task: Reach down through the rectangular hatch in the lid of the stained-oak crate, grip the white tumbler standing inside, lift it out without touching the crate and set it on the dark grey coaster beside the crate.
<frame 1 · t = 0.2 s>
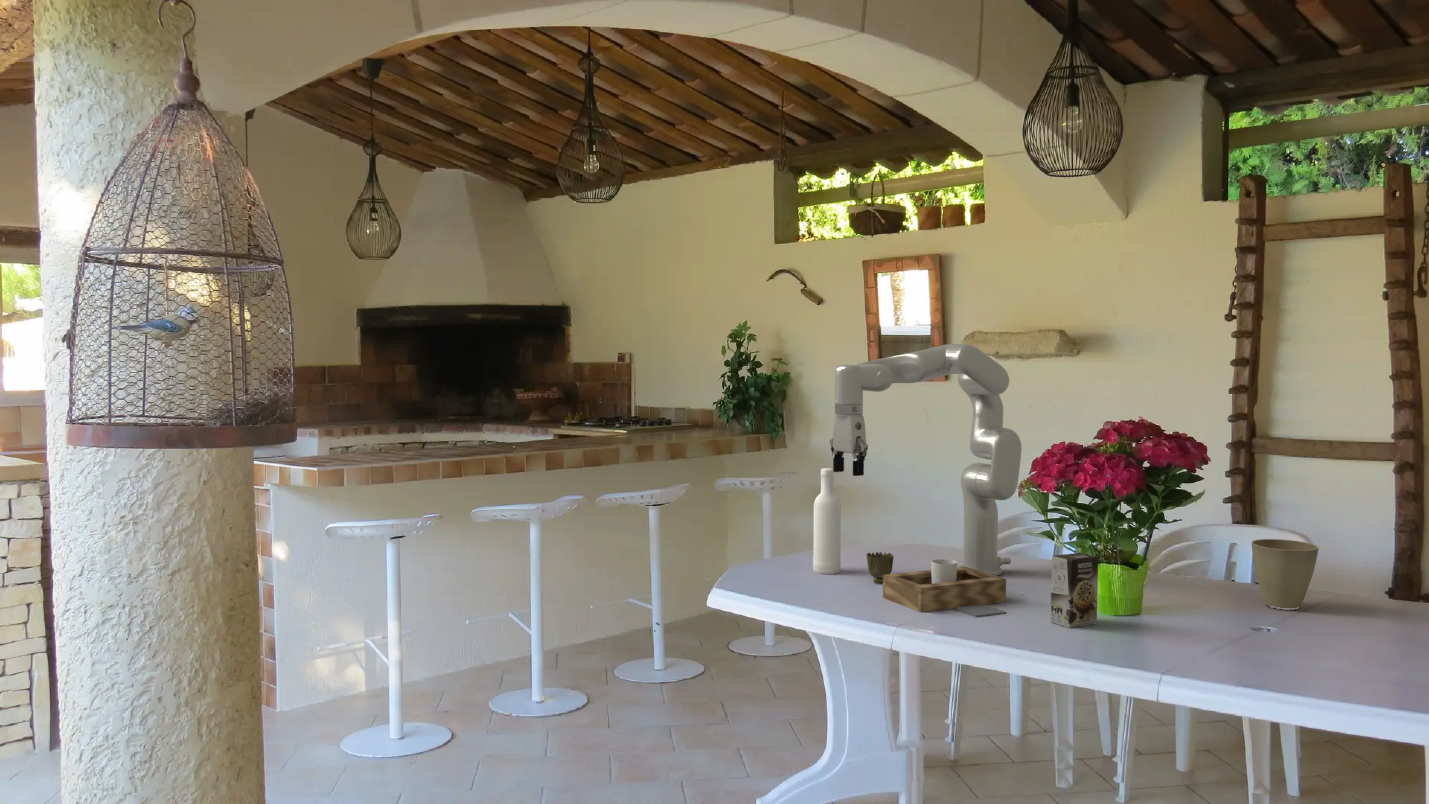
hand: (848, 473, 294), 31 cm above the table, tool pointing down, fingers open, 9 cm apart
plant pot: (1282, 608, 272), on the table
coffee box: (1073, 624, 256), on the table
crate: (943, 599, 280), on the table
bottle: (826, 572, 315), on the table
white tumbler: (943, 600, 280), resting in crate
cup: (879, 583, 300), on the table
coaster: (979, 611, 268), on the table
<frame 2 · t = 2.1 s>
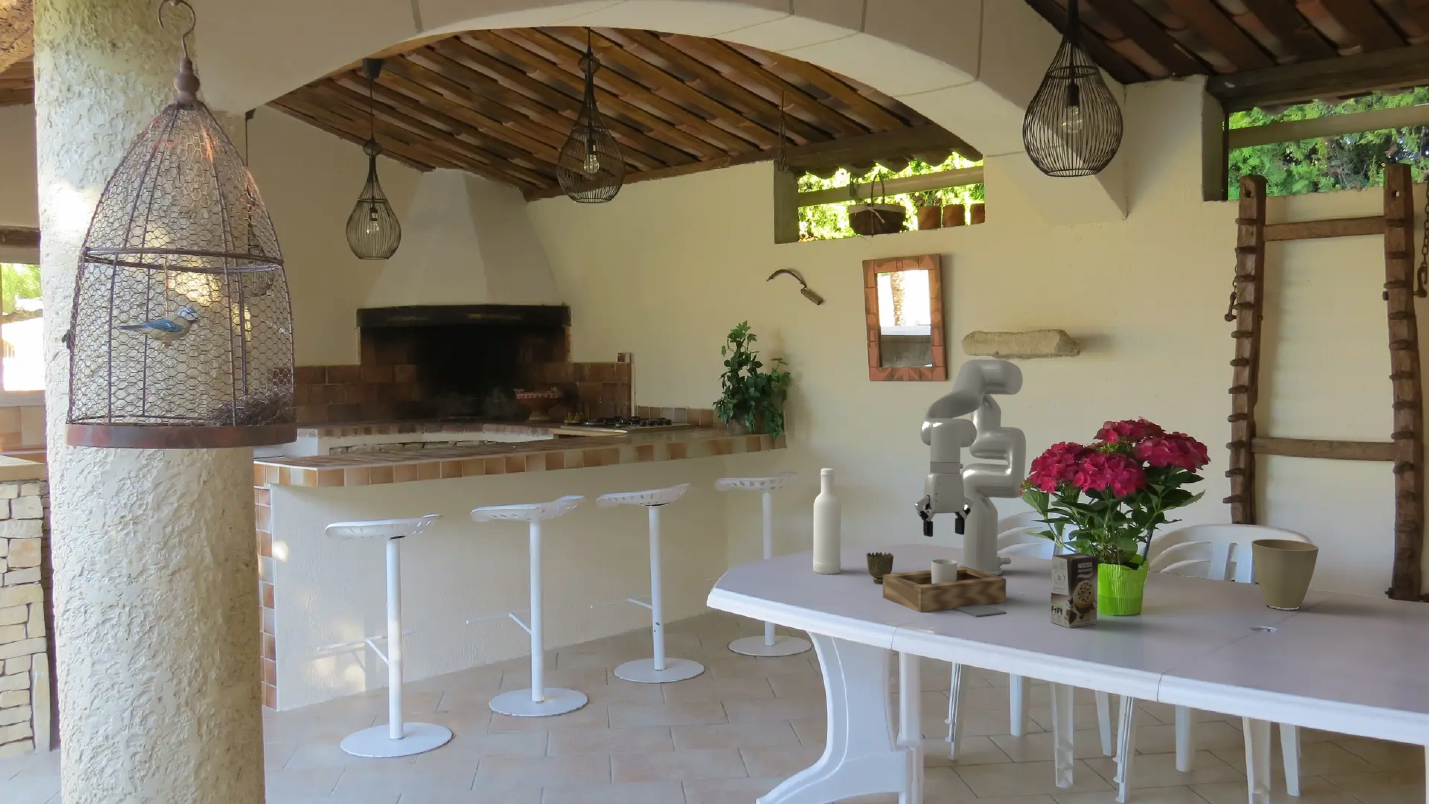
hand: (944, 535, 278), 17 cm above the table, tool pointing down, fingers open, 9 cm apart
nothing on the table moved.
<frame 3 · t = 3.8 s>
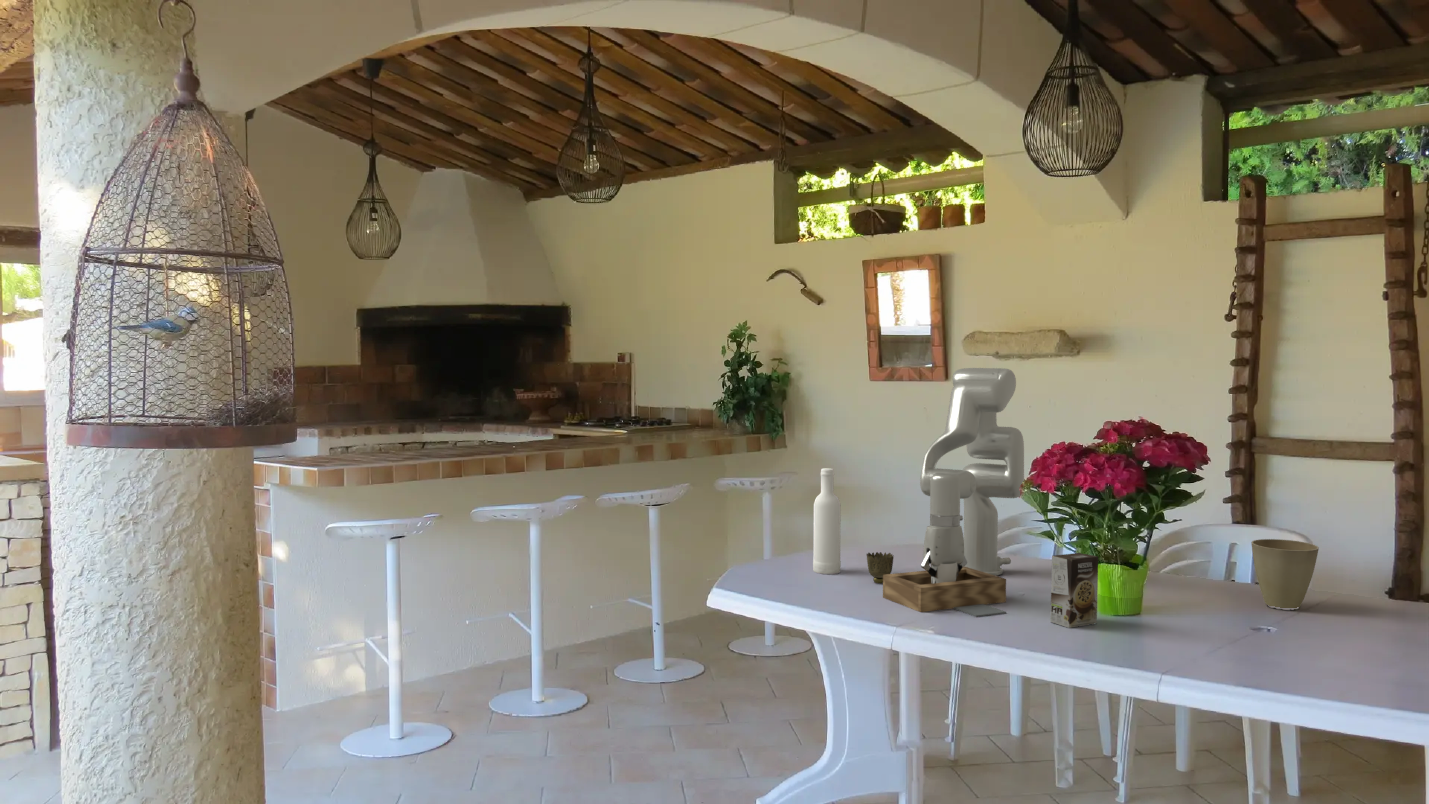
hand: (944, 591, 280), 2 cm above the table, tool pointing down, fingers closed on white tumbler, 3 cm apart
white tumbler: (943, 600, 280), resting in crate, touching gripper
everything else where it was.
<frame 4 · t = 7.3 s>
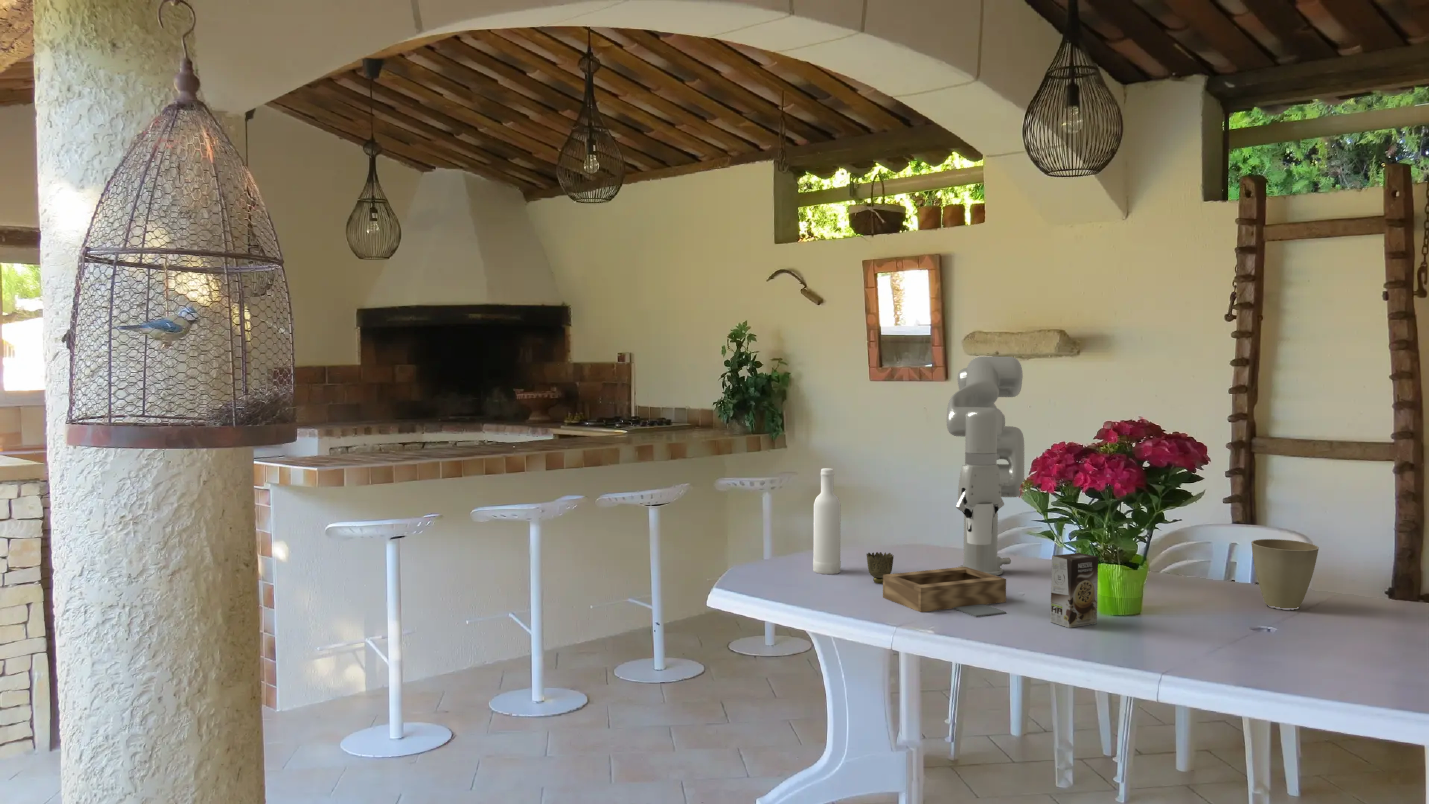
hand: (979, 533, 267), 19 cm above the table, tool pointing down, fingers closed on white tumbler, 3 cm apart
white tumbler: (979, 543, 267), point 17 cm above the table, touching gripper
everything else where it was.
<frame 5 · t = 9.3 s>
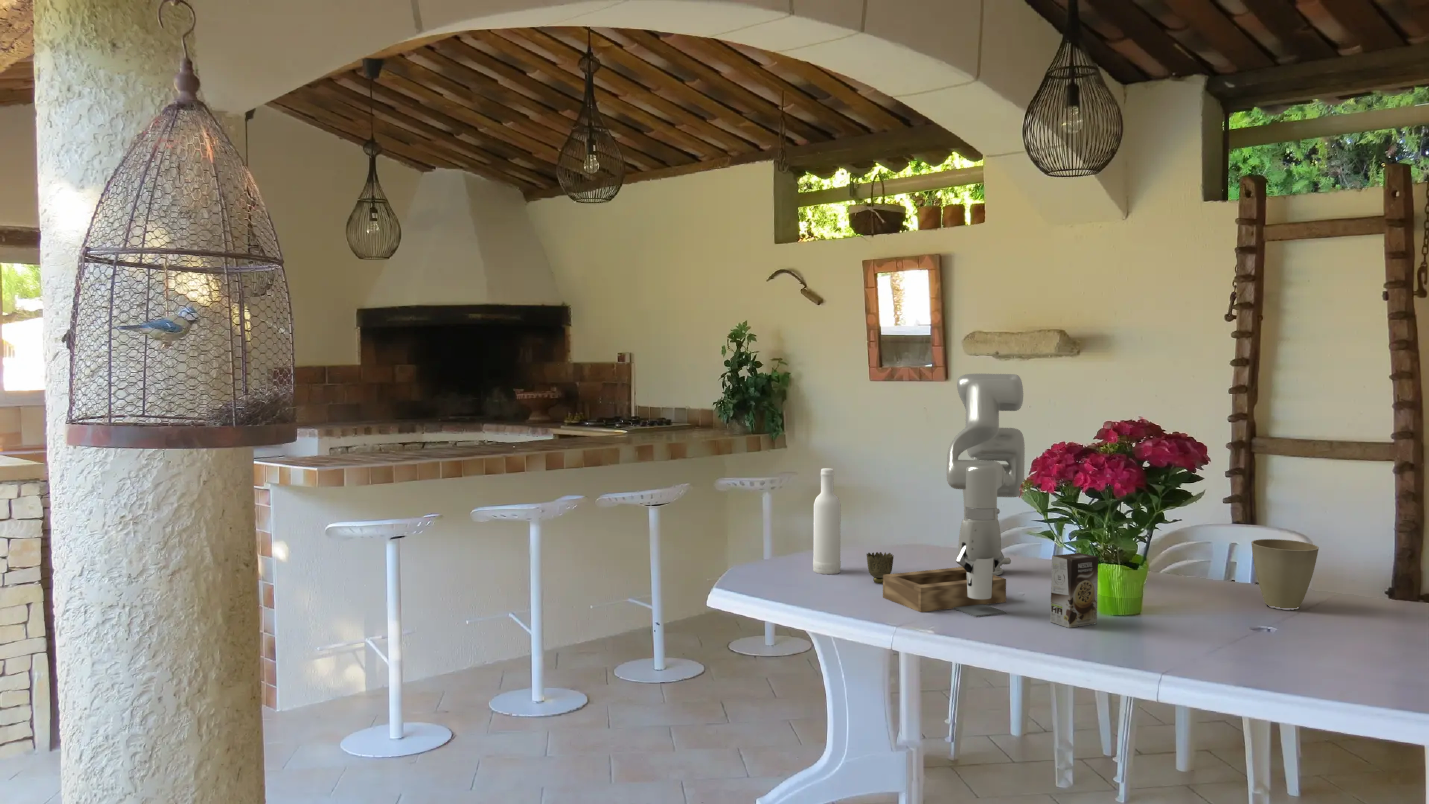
hand: (980, 587, 267), 6 cm above the table, tool pointing down, fingers closed on white tumbler, 3 cm apart
white tumbler: (979, 597, 267), point 3 cm above the table, touching gripper
everything else where it was.
when the fingers open (4 cm above the table, at t = 10.4 s): white tumbler drops 1 cm, resting on coaster.
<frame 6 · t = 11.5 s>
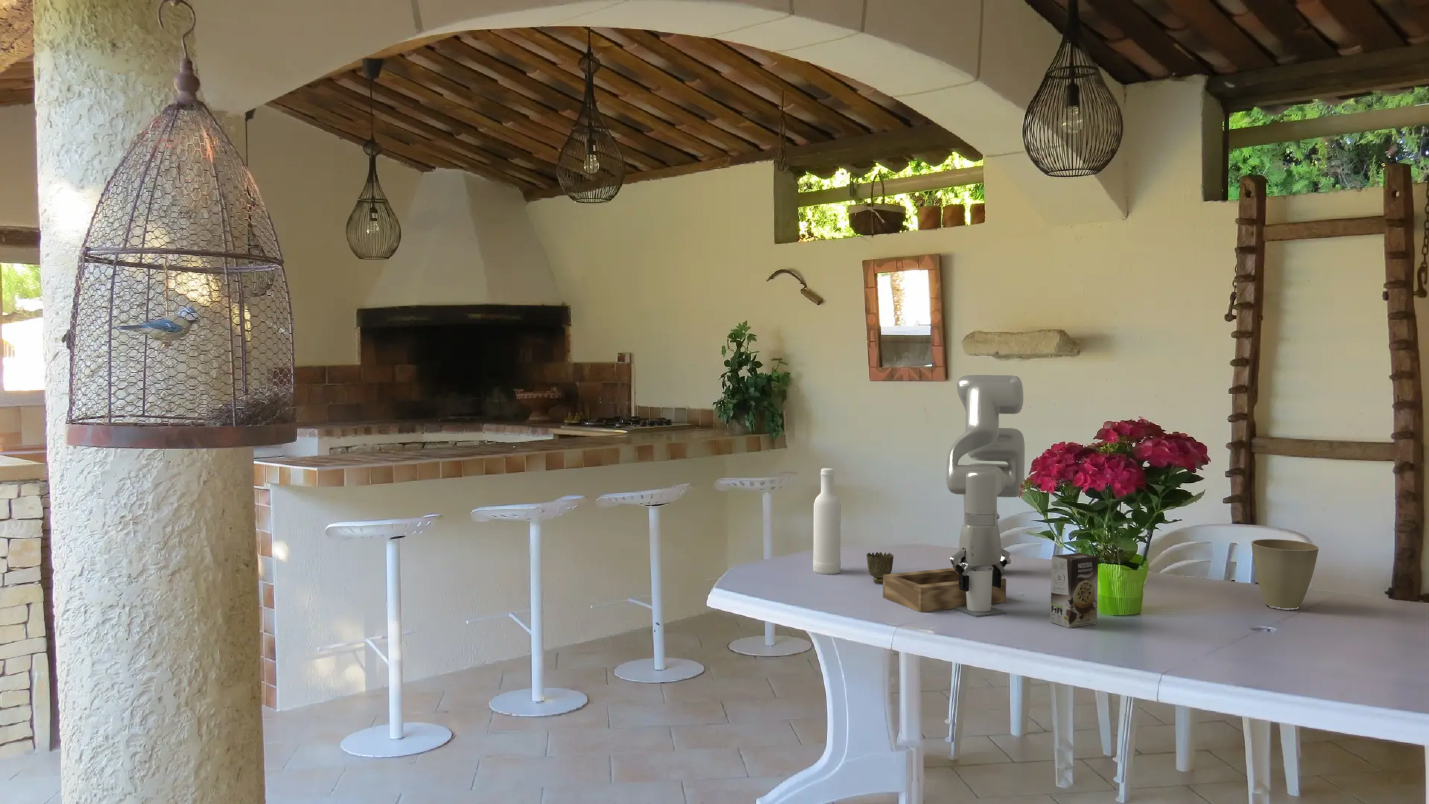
hand: (980, 588, 268), 6 cm above the table, tool pointing down, fingers open, 9 cm apart
white tumbler: (978, 609, 268), resting on coaster
everything else where it was.
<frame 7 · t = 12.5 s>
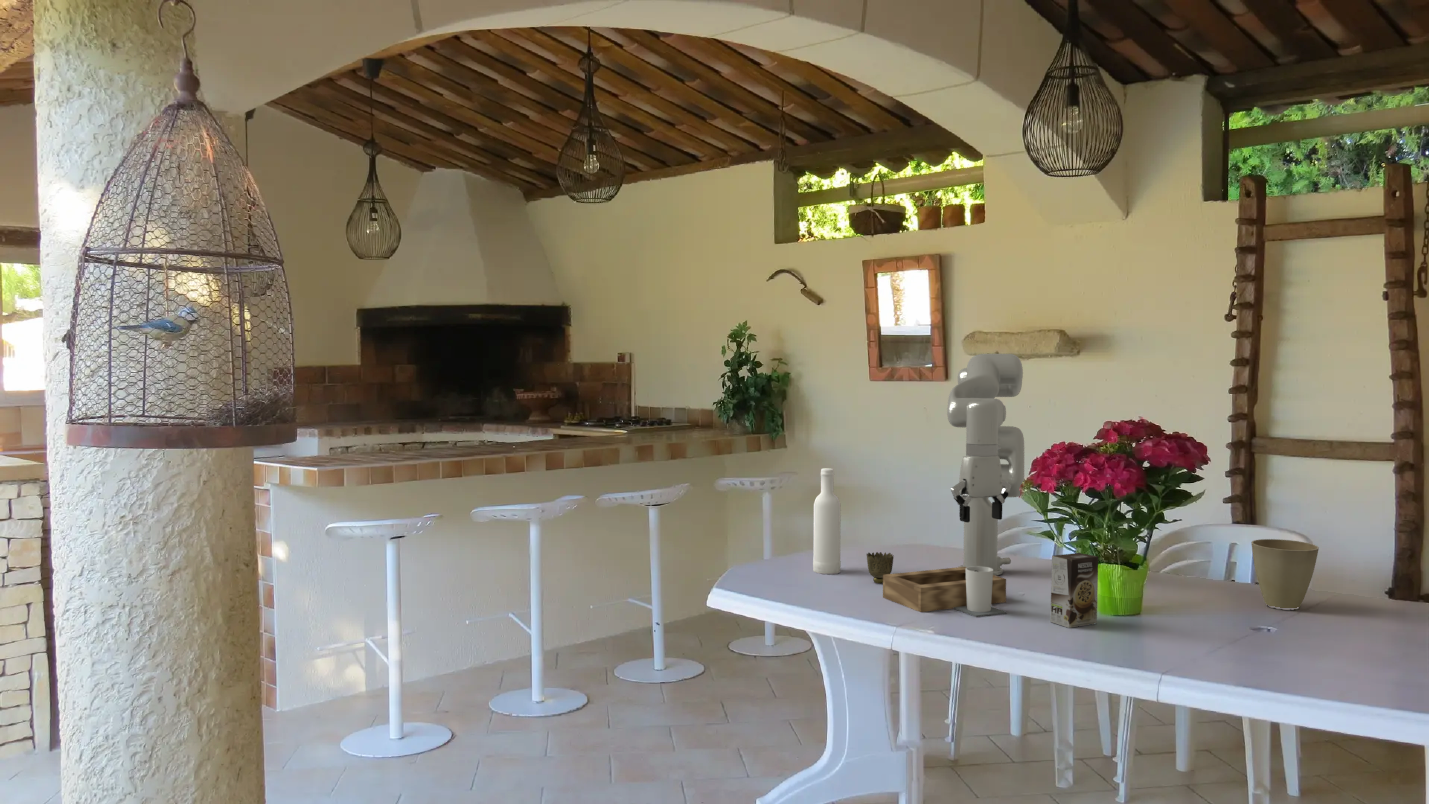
hand: (980, 520, 267), 23 cm above the table, tool pointing down, fingers open, 9 cm apart
nothing on the table moved.
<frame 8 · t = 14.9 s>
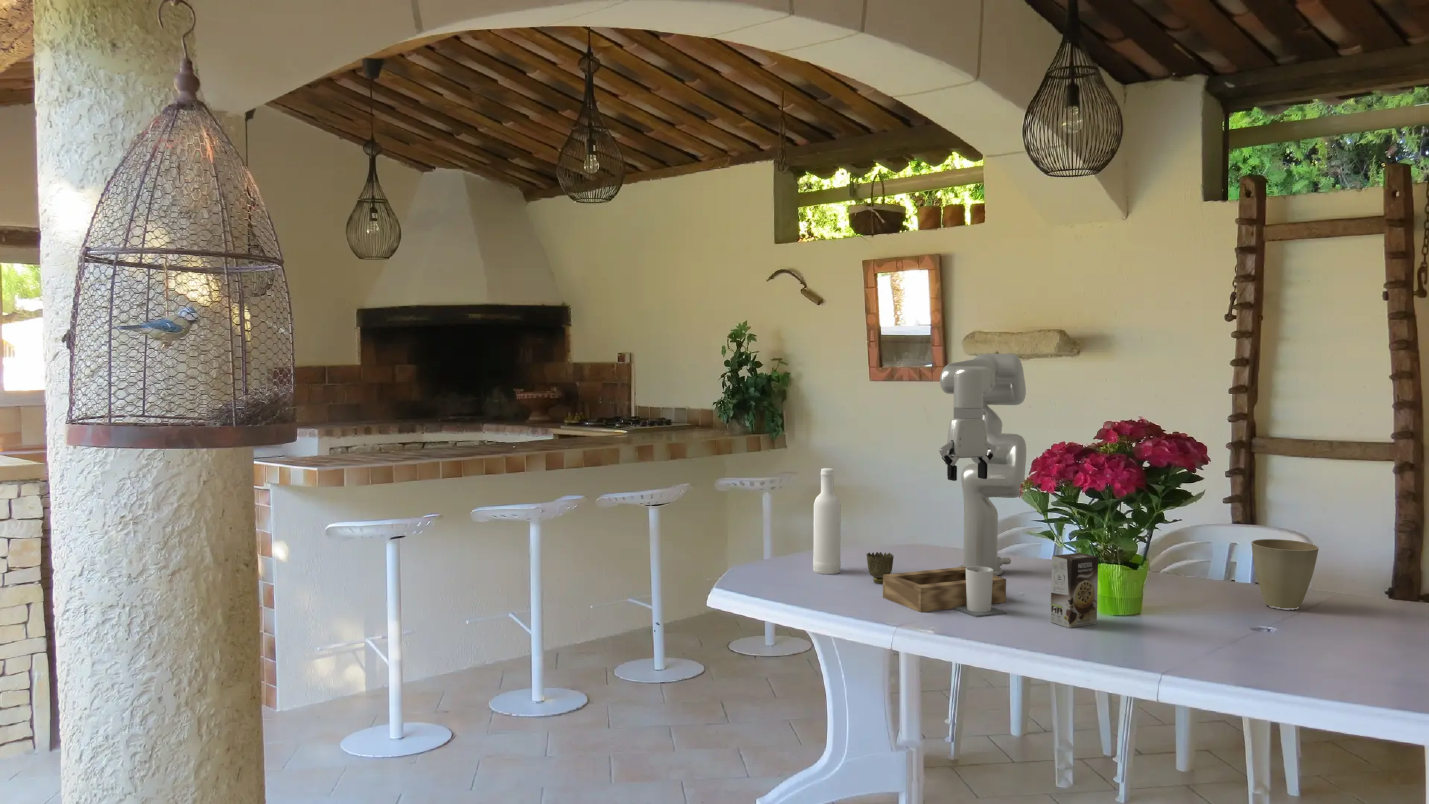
hand: (967, 479, 286), 30 cm above the table, tool pointing down, fingers open, 9 cm apart
nothing on the table moved.
at the end: white tumbler inside the target area on the coaster (0.3 cm from its centre), point 0.2 cm above the coaster's base; white tumbler tilted 0°; the gripper is holding nothing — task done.
